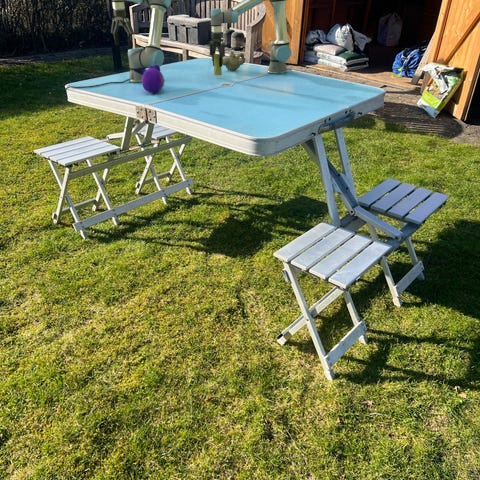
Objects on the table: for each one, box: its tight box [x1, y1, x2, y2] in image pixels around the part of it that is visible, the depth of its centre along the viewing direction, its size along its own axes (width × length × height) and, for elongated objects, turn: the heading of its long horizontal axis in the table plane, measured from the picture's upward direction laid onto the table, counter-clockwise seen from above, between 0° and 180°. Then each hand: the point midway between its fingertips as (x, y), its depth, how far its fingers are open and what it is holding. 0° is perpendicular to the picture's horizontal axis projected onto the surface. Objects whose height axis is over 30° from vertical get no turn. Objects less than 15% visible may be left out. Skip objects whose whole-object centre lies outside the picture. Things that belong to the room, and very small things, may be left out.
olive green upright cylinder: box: [213, 53, 223, 76], centre depth 337 cm, size 6×6×14 cm
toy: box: [134, 65, 165, 94], centre depth 304 cm, size 16×18×27 cm
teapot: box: [222, 50, 246, 72], centre depth 365 cm, size 21×12×15 cm, turn 120°
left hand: (124, 45), depth 296 cm, fingers open, 13 cm apart
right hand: (217, 66), depth 338 cm, fingers closed on olive green upright cylinder, 6 cm apart
